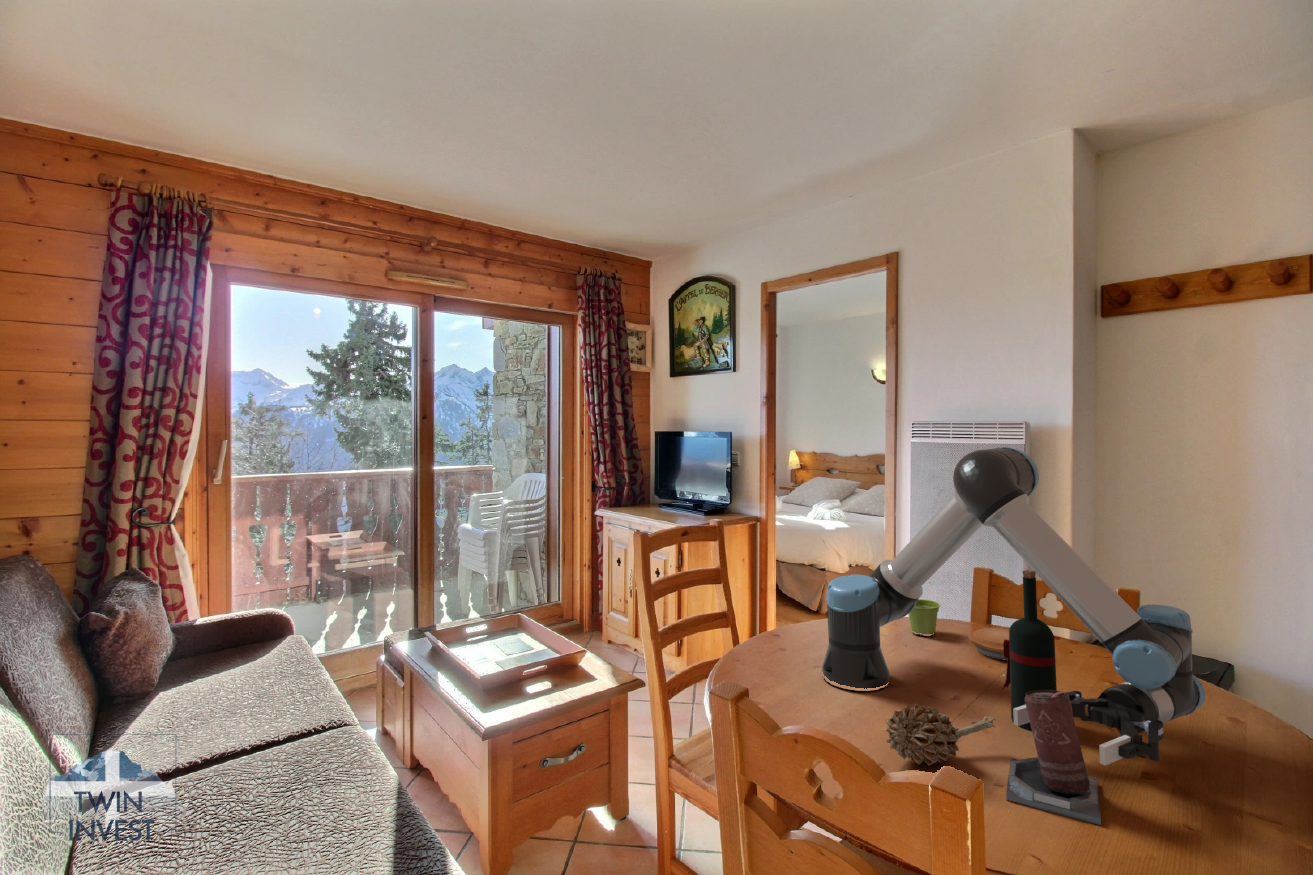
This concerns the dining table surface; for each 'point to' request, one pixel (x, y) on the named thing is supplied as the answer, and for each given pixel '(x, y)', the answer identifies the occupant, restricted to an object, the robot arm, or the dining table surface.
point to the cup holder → (1050, 793)
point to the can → (1057, 741)
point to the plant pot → (924, 616)
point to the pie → (990, 641)
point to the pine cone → (927, 734)
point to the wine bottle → (1029, 651)
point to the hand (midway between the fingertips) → (1055, 735)
